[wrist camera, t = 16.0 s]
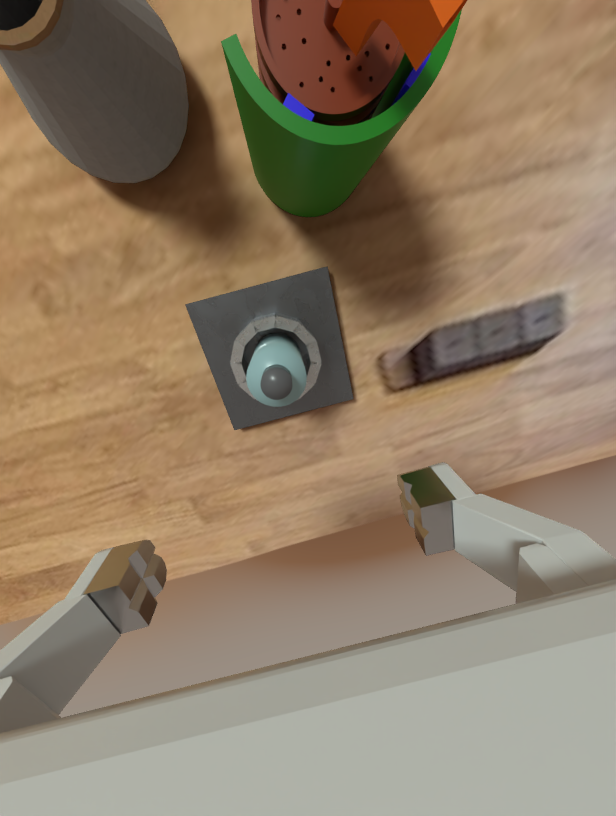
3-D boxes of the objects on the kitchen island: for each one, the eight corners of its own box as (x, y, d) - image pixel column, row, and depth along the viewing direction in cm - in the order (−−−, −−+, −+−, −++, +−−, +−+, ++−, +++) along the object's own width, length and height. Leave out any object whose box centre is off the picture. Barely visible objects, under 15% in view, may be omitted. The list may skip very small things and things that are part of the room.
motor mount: (324, 267, 30) (332, 264, 26) (350, 394, 35) (360, 409, 31) (189, 303, 30) (175, 306, 26) (236, 424, 35) (230, 443, 31)
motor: (299, 46, 23) (377, -799, 5) (388, 127, 26) (655, -248, 8) (241, 179, 26) (156, -54, 8) (325, 240, 29) (408, 168, 10)
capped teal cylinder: (293, 327, 30) (299, 345, 21) (305, 371, 32) (314, 405, 23) (248, 339, 30) (235, 362, 22) (262, 383, 32) (255, 420, 23)
